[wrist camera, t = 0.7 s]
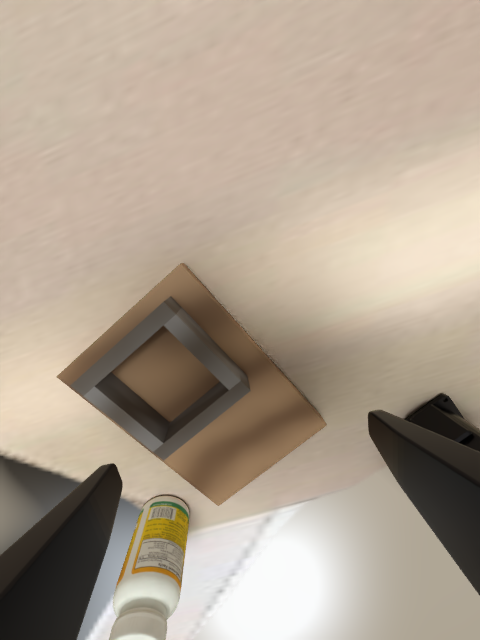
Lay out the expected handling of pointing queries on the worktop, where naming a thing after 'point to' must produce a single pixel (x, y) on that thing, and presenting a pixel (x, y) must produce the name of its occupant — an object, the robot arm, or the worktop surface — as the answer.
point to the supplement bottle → (151, 571)
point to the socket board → (194, 388)
